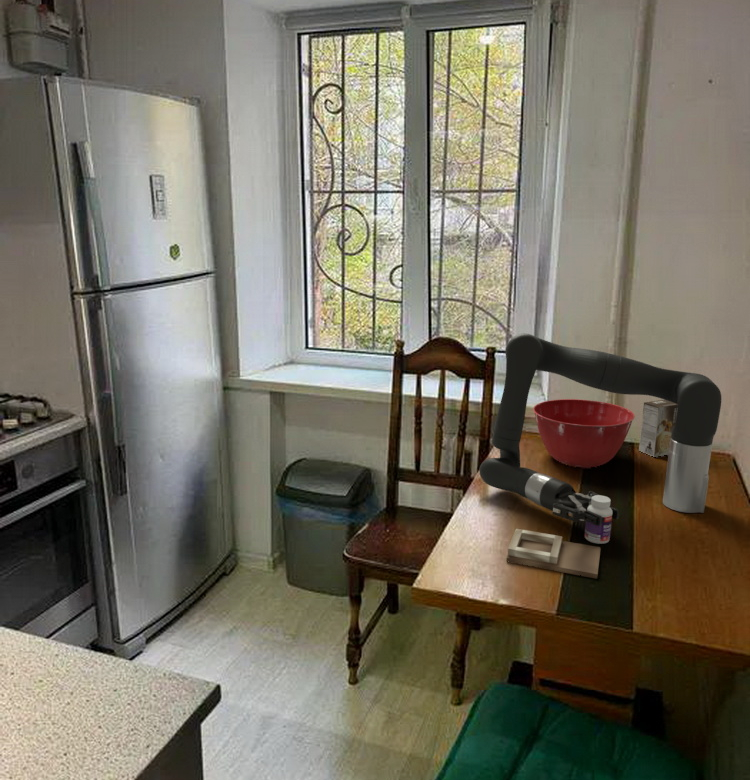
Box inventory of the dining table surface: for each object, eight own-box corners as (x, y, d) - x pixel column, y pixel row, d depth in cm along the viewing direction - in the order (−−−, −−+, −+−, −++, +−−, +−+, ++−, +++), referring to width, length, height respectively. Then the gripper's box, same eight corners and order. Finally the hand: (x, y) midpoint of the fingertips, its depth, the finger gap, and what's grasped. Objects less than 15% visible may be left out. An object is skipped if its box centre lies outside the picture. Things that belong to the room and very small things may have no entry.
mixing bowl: (514, 464, 194) (518, 413, 190) (549, 439, 216) (553, 393, 212) (613, 486, 178) (619, 431, 174) (639, 456, 201) (645, 407, 197)
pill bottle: (606, 546, 145) (610, 505, 142) (581, 540, 147) (585, 499, 145) (612, 537, 149) (616, 497, 147) (588, 531, 152) (591, 491, 149)
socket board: (600, 551, 142) (601, 541, 142) (597, 578, 132) (598, 567, 131) (516, 536, 149) (516, 526, 148) (506, 561, 138) (507, 550, 137)
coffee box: (659, 448, 209) (665, 398, 205) (676, 454, 203) (682, 404, 199) (637, 451, 205) (643, 401, 201) (653, 458, 199) (660, 407, 195)
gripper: (529, 484, 153) (590, 510, 140) (570, 471, 161) (631, 495, 148) (527, 514, 155) (587, 542, 142) (567, 500, 163) (627, 525, 150)
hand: (609, 518), depth 145 cm, fingers closed on pill bottle, 5 cm apart
